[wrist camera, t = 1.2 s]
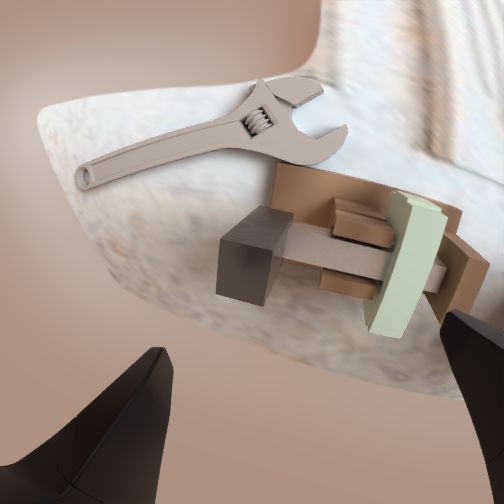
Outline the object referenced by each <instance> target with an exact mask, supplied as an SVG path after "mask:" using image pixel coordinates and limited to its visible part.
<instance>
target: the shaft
mask: <svg viewBox="0 0 504 504" xmlns="http://www.w3.org/2000/svg"><path fill="white" fill-rule="evenodd" d="M293 217H294V213H292V212H287V211H283V210H278V209H273V208H268V207H263V206H259V207H257V208H256V209H255V210H254V211H253V212H251V213H250V214H249V215H248V216H247V217H245V218H244V219H243V220H242V221H241V222H240V223H238V224H237V225H236V226H235V227H234V228H232V229H231V230H230V231H229V232H228V233H227V234H225V235H224V236H223V237H222V238H221V239H220V249H219V259H218V271H217V283H216V294H218V295H221V296H225V297H229V298H232V299H236V300H240V301H243V302H247V303H251V304H255V305H259V306H264V304H265V301H266V299H267V297H268V295H269V292H270V290H271V288H272V286H273V283H274V281H275V279H276V276H277V274H278V272H279V269H280V267H281V265H282V262H283V260H284V258H286V259H291V260H295V261H299V262H303V263H308V264H312V265H316V266H321V267H325V268H329V269H334V270H338V271H342V272H347V273H351V274H355V275H360V276H364V277H368V278H372V279H377V280H381V281H383V280H384V277H385V275H386V272H387V269H388V266H389V263H390V260H391V257H392V254H393V250H394V247H395V245H393V244H391V247H390V248H387V247H383V246H379V245H375V244H371V243H367V242H362V241H358V240H354V239H350V238H346V237H342V236H337V235H333V230H332V229H328V228H323V227H319V226H314V225H310V224H305V223H301V222H296V221H293ZM446 270H447V266H446V265H445V264H444V263H443V262H442V261H441V259H440V258H439V257H438V256H436V257H435V260H434V263H433V266H432V269H431V271H430V274H429V276H428V279H427V282H426V284H425V287H424V289H423V290H424V291H428V292H433V293H437V292H438V290H439V288H440V285H441V283H442V280H443V278H444V275H445V273H446Z"/></svg>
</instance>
